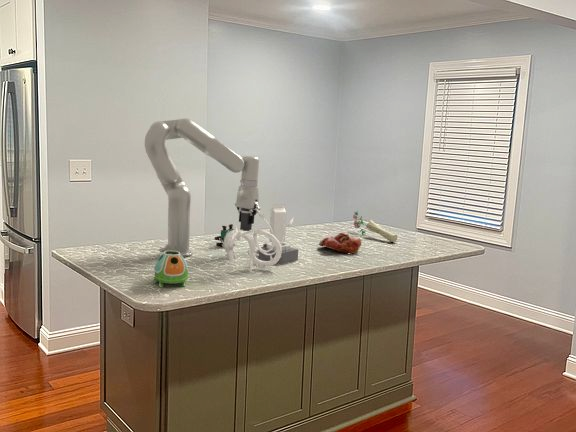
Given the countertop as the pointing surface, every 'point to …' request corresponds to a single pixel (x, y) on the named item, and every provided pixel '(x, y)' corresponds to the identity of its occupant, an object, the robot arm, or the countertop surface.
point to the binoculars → (224, 234)
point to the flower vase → (374, 228)
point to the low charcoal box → (287, 253)
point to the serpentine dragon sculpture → (252, 242)
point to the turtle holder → (171, 268)
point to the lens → (245, 220)
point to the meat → (342, 243)
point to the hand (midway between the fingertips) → (246, 222)
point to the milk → (278, 222)
